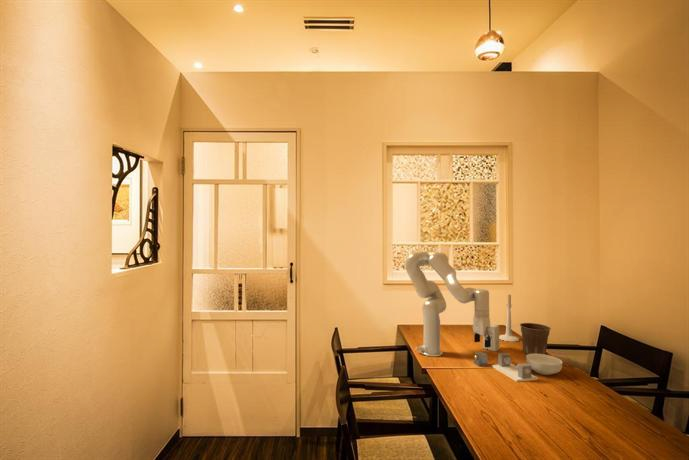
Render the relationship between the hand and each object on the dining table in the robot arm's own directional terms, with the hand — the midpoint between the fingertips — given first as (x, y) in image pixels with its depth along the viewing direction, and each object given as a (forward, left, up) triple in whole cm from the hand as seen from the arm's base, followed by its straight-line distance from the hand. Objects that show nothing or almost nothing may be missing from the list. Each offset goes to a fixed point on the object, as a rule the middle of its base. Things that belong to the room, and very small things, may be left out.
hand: (482, 344), depth 207 cm
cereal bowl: (+26, -15, -11) cm, 32 cm away
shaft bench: (+10, -13, -11) cm, 20 cm away
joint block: (-1, +1, -11) cm, 11 cm away
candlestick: (+44, +38, -11) cm, 60 cm away
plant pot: (+41, +11, -11) cm, 44 cm away
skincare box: (+20, +23, -11) cm, 33 cm away
